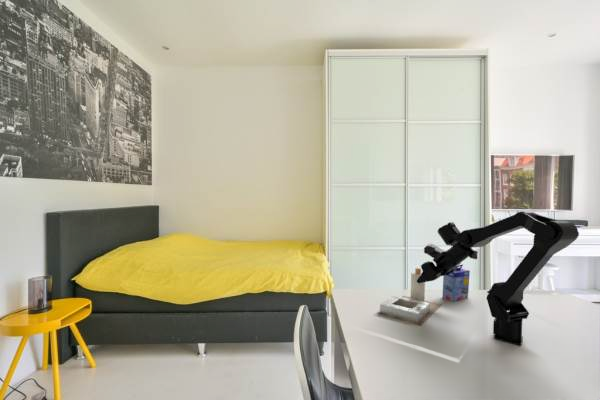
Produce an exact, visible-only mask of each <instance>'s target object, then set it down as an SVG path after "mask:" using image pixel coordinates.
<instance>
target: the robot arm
mask: <svg viewBox="0 0 600 400" xmlns="http://www.w3.org/2000/svg"><path fill="white" fill-rule="evenodd" d="M520 229H525V230H526V231H527V232H529V233H531V234H534V236H533V245H532V247H531V249H530V250H529V251H528V253H526V255H525V256H524V257H523V259H522V260H521V261H520V263H519V264H518V265H517V267H515V269H514V271H513V272H512V273H511V274H510V275H509V277H508V278H507V280H506V281H500V282H494V283H493V284H492V286H491V287H490V289H489V290H488V291H486V293H487V295H486V302H487V305H488V308H489V312H490V315H491V317H492V318H493V326H492V327H493V328H492V330H493V333H492V334H493V335H494V337H493V338H494V339H495V340H499V341H503V342H505V343H509V344H515V345H517V346H522V344H523V339H524V338H523V320H526V319H528V317H529V315H530V312H529V310H528V309H527V308H526V307H525V305H524V304H523V303H522V302H523V300H524V292H525V290H526V288H527V287H528V286H529V285H530V284H531V283H532V281H533V280H534V279H535V278H536V276H537V275H538V274H539V273H540V272H541V271H542V269H543V268H544V266H546V264H547V263H548V262H549V261H550V260H551V258H552V257H553V256H554V255H556V254H557V253H558V252H560V251H562V250H564V249H566V248H567V247H569V246H570V245H572V243H574V242H575V241H576V240H577V239H578V238H579V235H580V233H579V230H578V227H577V226H576V224H575V223H574V222H571V221H568V220H558V219H555V218H552V217H548V216H544V215H541V214H537V213H536V212H534V211H530V210H529V211H518V212H516V213H515V214H512V215H510V216H507V217H506V218H502V219H500V220H498V221H496V222H493V223H491V224H488V225H486V226H484V227H483V226H482V227H476V228H471V229H465V230H463V231H460V230H459V228H458V227H457V226H456V224H455V222H454V221H453V222H447V224H445V225H442V226H441V227H438V230H437V233H438V235H439V237H441V239H442V241H443V242H444V244H445V245H446V246H450V247H449V249H447V250H446V251H445V250H443V249H442V248H440V247H439V246H437V245H435V244H433V243H428V244H427V245H426V246H425V247H423V253H424V254H426V255H428V256H429V257H431V258H432V261H426V262H423V263H422V264H420V269H421V273H422V274H421V275H420V277H419V278H418V280H417V282H418V283H423V282H425V283H428V282H433V281H435V280H438V279H439V278H440V277H443V276H444V275H448V274H450V273H453V272H454V271H455V270H457V268H458V267H457V266H458V265H462V264H461V263H462V262H463V261H465V260H466V259H467V258H470V259H472V260H478V251H477V250H474V249H473V248H482V247H484V246H486V245H488V244H490V243H491V242H492V241H493V240H494V239H496V238H498V237H502V236H504V235H507V234H510V233H513V232H515V231H518V230H520ZM434 263H435V264H434Z"/></svg>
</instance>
